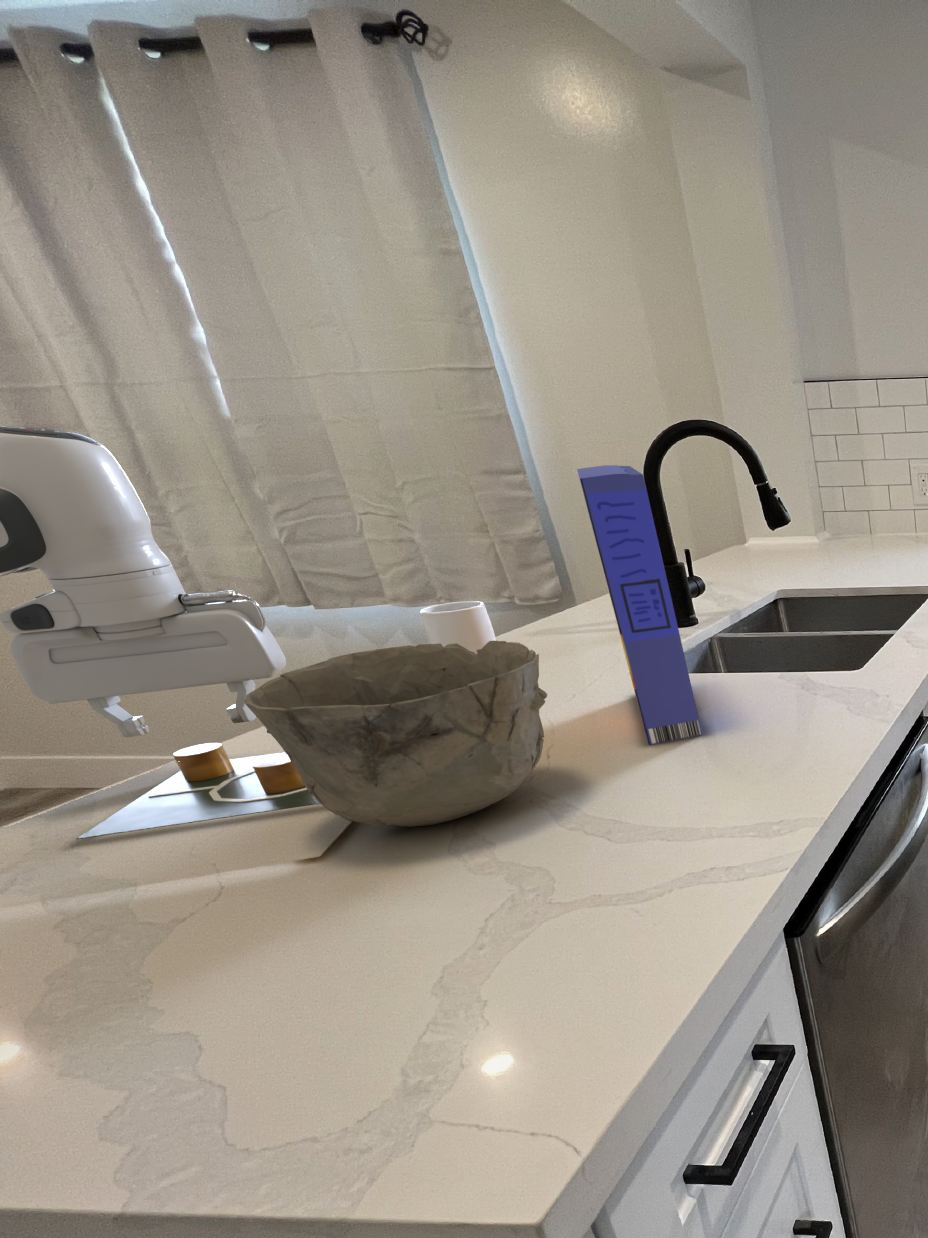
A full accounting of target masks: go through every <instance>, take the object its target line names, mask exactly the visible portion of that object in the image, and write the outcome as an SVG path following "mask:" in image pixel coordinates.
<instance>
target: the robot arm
mask: <svg viewBox="0 0 928 1238" xmlns="http://www.w3.org/2000/svg"><path fill="white" fill-rule="evenodd" d="M153 535H154V534H153V532H152V522H151V519H150V516H149V515H148V512H147V511H146V508H145V505H144V504H143V502H142V500H141V499H140V497H139V495H138V493H137V491H136V489H135V487H134V485H133V484H132V482H131V480H130V479H129V476H127V473H126V472H125V471H124V469H123V468H122V466H121V465H120V464H119V462H118V461H117V459H116V458H115V456H114V455H113V454H112V452H110V451H109V449H107V447H105V446H104V445H103V444H102V443H100V442H98V441H96V440H95V439H93V438H91V437H89V436H86V435H83V434H80V433H77V432H73V431H65V430H58V429H47V428H35V427H18V426H4V425H2V426H1V425H0V578H1V577H4V576H8V575H10V574H19V573H27V572H32V571H35V570H41V571H42V573H44V575H45V576H46V578H47V580H48V582H49V584H50V586H51V588H52V591H50V592H46V593H43V594H40V595H38V596H35V598H33V599H31V600H28V601H26V602H23V603H21V604H17V605H16V606H13V607H10V608H7V609H5V610H2V611H1V612H0V626H1V627H2V629H4V631H6V632H7V633H10V634H15V636H13V638H12V639H11V641H10V644H9V645H10V652H11V655H12V658H13V661H14V663H15V666H16V667H17V669H18V671H19V674H20V676H21V678H22V679H23V682H24V683H25V685H26V687H27V688H28V689H29V691H30V693H31V694H32V695H33V696H34V697H36V698H38V699H39V700H42V701H43V702H45V703H47V704H50V705H51V704H53V705H55V704H61V703H62V704H63V703H69V702H70V703H71V702H78V701H86V700H87V702H88V703H89V706H90V707H91V709H92V710H93V711H94V712H96V713H97V714H99V715H100V716H102V717H104V718H106V720H108V721H110V722H112V723H113V724H116V727H117V728H118V729H119V731H120V733H121V735H122V736H123V737H124V738H134V737H142V736H145V735H146V734H149V733H150V726H149V724H146V722H147V721H146V719H145V717H144V715H138V716H133V715H132V714H130V713H129V712H128V711H127V710H125V709H124V708H122V707H121V706H120V705H118V703H120V702H122V700H121V698H120V696H130V695H138V694H145V693H154V692H155V693H156V692H161V691H170V690H179V689H188V688H195V687H204V686H212V685H220V684H221V685H222V684H226V686H227V688H228V689H229V691H230V693H237V694H236V699H235V704H232V705H231V706H229V707H227V708H225V711H226V713H227V714H228V715H229V717H230V720H231V722H232V723H233V724H243V723H248V722H249V723H250V722H252V721H254V720H255V719H256V718H257V717H256V716H255V714H254V713H253V712H252V711H251V710H250V709H249V708H248V707H247V706H246V704H245V702H244V700H245V698H246V695H247V694H249V693H250V692H252V691H254V690H256V683H255V682H254V681H255V680H263V679H271V678H273V677H274V676H276V675H279V674H280V673H281V672H283V671H284V669H285V667H286V665H287V658H286V656H285V654H284V652H283V650H282V648H281V646H280V644H279V643H278V641H277V640H276V638H275V637H274V635H273V633H272V632H271V630H270V629H269V628H268V626H267V621H266V617H265V614H264V612H263V610H262V608H261V606H260V604H259V603H258V601H256V600H255V599H253V598H252V597H250V596H248V595H245V594H242V593H237V591H235V590H221V591H217V592H197V593H186V591H185V588H184V587H183V585H182V583H181V581H180V579H179V576H178V574H177V572H176V570H175V567H174V566H173V564H172V562H171V560H170V559H169V557H168V556H167V555H166V554H165V552H163V551H162V550H161V548H160V547H159V545H158V544H157V543H156V541H155V539H154V536H153ZM239 599H240V600H239Z"/></svg>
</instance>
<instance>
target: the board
mask: <svg viewBox="0 0 928 1238" xmlns="http://www.w3.org/2000/svg"><path fill="white" fill-rule="evenodd" d="M280 754H286V753H285V751H284V752H277V753H267V754H260V755H253V756H252V755H251V756H245V757H237V758H229V760H230V762H231V764H232V766H233V768H234V770H233V771H232V772H230V773H228V774H226V775H223V776H220V777H217V778H213V779H209V780H203V781H186V780H185V778H184V776H183V774H182V772H181V770H179V771H178V772H176V773H175V774H173V775H171V776H170V777H168V778H167V779H165V780H164V781H162V782H161V783H159V784H157V785H155V786H154V787H153V788H152V789H150V790H149V791H147V792H145V793H144V794H142V795H141V796H140V797H137V798H136V799H135V800H133V801H132V802H130V803H129V804H126V805H125V806H124V807H122V808H121V809H119V810H118V811H116V812H115V813H113V814H112V815H110V816H109V817H107V818H106V819H104V820H103V821H101V822H100V823H98V824H96V825H95V826H93V827H92V828H90V829H88V830H87V831H85V832H84V833H83V834H81V835H80V836H78V837H76V840H82V839H89V838H96V837H101V836H102V837H103V836H109V835H115V834H122V833H128V832H129V833H130V832H136V831H144V830H149V829H156V828H164V827H171V826H177V825H184V824H191V823H198V822H204V821H211V820H218V819H226V818H233V817H239V816H246V815H247V816H248V815H253V814H260V813H267V812H274V811H280V810H288V809H294V808H300V807H307V806H314V805H321V804H320V803H319V802H318V801H317V800H316V799H315V798H314V797H313V796H312V794H310V793H309V791H308V790H307V788H306V787H302V788H299V789H296V790H293V791H288V792H283V793H274V794H270V793H265V792H264V790H263V788H262V785H261V783H260V781H259V779H258V777H257V775H256V773H255V771H254V769H253V766H252V765H253V764H254V763H255V762H257V761H259V760H261V759H264V758H267V757H271V756H275V755H280Z"/></svg>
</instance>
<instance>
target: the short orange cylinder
mask: <svg viewBox="0 0 928 1238" xmlns="http://www.w3.org/2000/svg"><path fill="white" fill-rule="evenodd" d="M172 757H173V758H174V760H175V762H176V764H177V767H178V768H179V771H181V772H182V774H183V776H184V778H185V780H186V781H203V780H209V779H213V778H217V777H220V776H223V775H226V774H228V773H230V772H232V771H233V770H234V768H233V766H232V764H231V762H230V760H229V759H230V758H229V756H228V753H227V751H226V750H225V747H224V745H223V744H222V743H220V742H207V743H201V744H196V745H191V746H188V747H184V748H181V749H179V750H177V751H175V752H173V754H172ZM178 761H180V762H178Z"/></svg>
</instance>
